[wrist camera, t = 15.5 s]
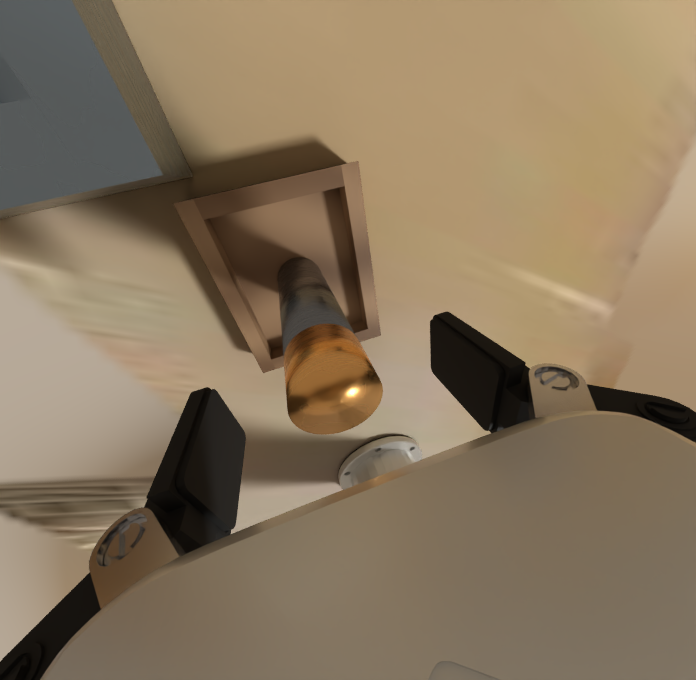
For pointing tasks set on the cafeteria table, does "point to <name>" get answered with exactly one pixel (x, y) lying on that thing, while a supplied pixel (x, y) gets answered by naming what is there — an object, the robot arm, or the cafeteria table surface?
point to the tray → (286, 249)
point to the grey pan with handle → (76, 108)
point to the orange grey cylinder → (322, 355)
